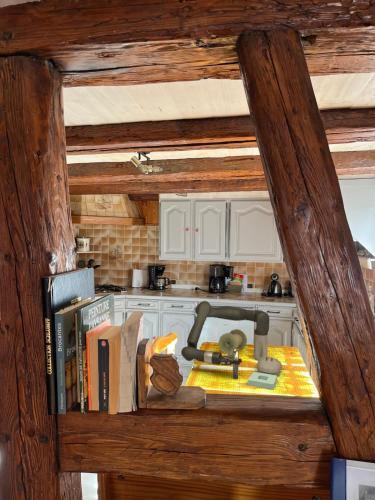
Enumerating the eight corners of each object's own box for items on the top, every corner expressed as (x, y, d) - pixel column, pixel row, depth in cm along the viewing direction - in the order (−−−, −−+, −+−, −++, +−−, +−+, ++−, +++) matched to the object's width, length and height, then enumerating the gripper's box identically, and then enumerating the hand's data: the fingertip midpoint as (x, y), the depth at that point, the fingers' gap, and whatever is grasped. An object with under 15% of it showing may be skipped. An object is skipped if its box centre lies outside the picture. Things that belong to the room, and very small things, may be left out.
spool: (237, 356, 238) (237, 335, 238) (218, 352, 246) (218, 332, 246) (246, 350, 252) (246, 330, 252) (228, 347, 260) (228, 327, 260)
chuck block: (253, 376, 201) (253, 371, 201) (277, 380, 195) (277, 375, 195) (247, 385, 188) (247, 379, 188) (273, 389, 182) (273, 384, 182)
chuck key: (234, 375, 202) (235, 346, 202) (239, 376, 200) (240, 347, 200) (231, 379, 195) (231, 349, 195) (236, 380, 194) (237, 350, 194)
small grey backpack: (257, 365, 220) (255, 376, 201) (258, 353, 220) (255, 362, 201) (281, 368, 216) (281, 379, 197) (281, 355, 216) (281, 365, 197)
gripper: (209, 354, 197) (237, 359, 190) (216, 348, 210) (243, 352, 203) (208, 367, 197) (237, 372, 190) (216, 360, 210) (243, 364, 203)
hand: (240, 361), depth 197 cm, fingers closed on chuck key, 3 cm apart
